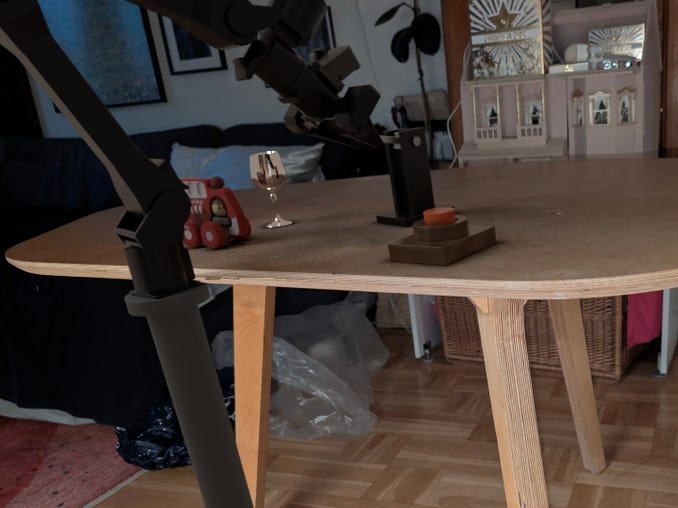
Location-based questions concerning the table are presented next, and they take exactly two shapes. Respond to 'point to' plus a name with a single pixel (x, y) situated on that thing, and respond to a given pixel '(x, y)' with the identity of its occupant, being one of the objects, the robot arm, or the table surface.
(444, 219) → the button
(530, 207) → the table surface
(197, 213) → the toy fire truck
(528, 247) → the table surface
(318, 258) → the table surface
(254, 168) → the wineglass
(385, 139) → the lever
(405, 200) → the bracket
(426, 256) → the button block
